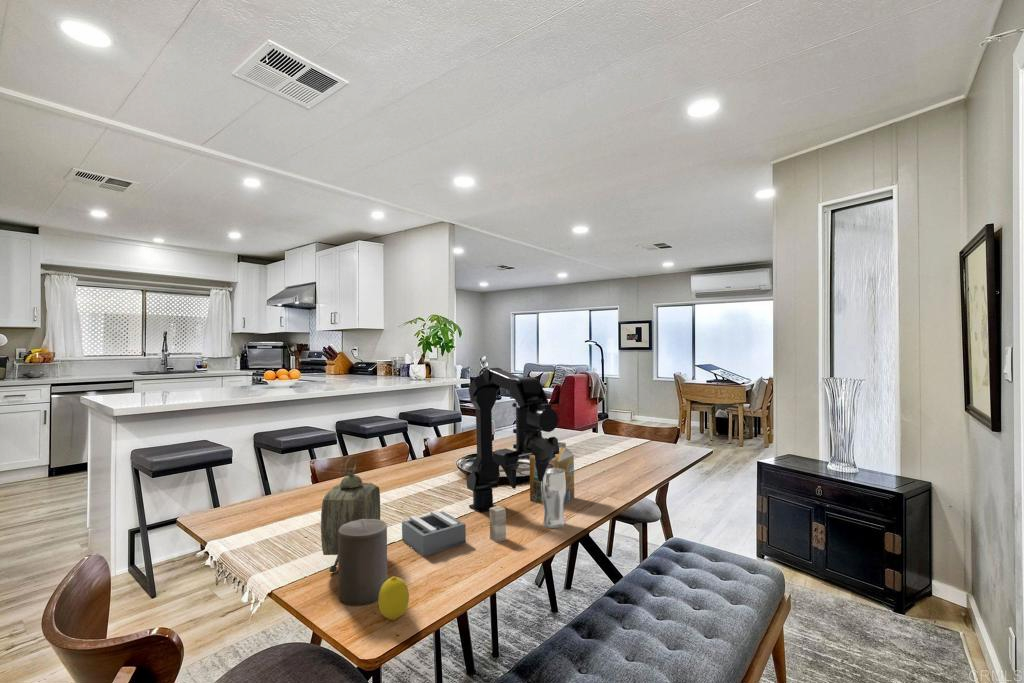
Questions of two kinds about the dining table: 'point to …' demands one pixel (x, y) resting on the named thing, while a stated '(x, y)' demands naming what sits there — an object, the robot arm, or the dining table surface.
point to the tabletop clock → (346, 508)
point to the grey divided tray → (433, 533)
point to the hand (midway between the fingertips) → (527, 484)
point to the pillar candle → (362, 561)
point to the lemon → (393, 598)
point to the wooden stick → (497, 523)
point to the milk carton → (560, 461)
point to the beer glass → (553, 497)
